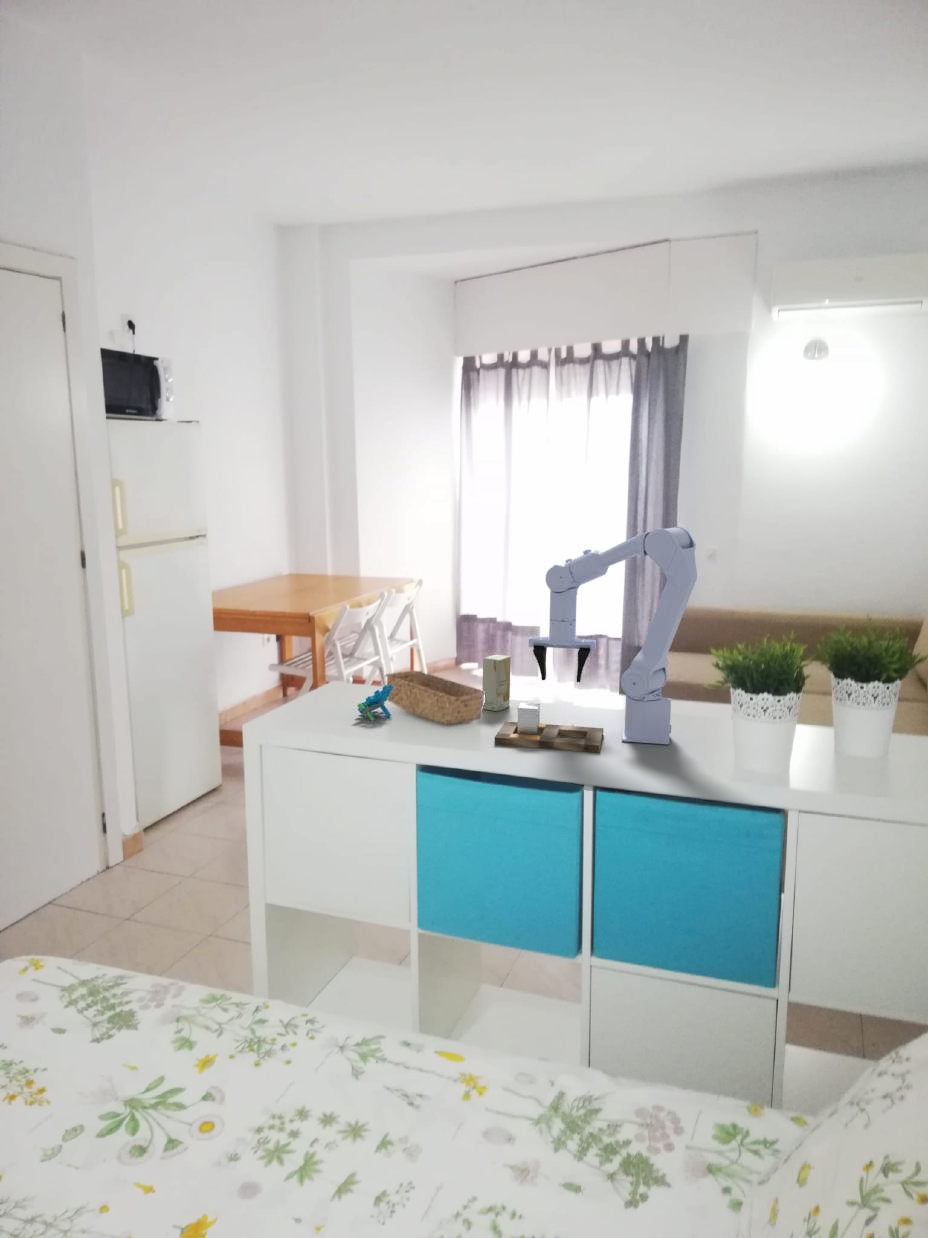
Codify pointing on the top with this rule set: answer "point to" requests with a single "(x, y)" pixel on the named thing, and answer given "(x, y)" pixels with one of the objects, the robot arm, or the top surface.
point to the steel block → (528, 719)
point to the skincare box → (496, 682)
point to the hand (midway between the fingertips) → (561, 680)
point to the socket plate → (552, 737)
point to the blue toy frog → (376, 702)
